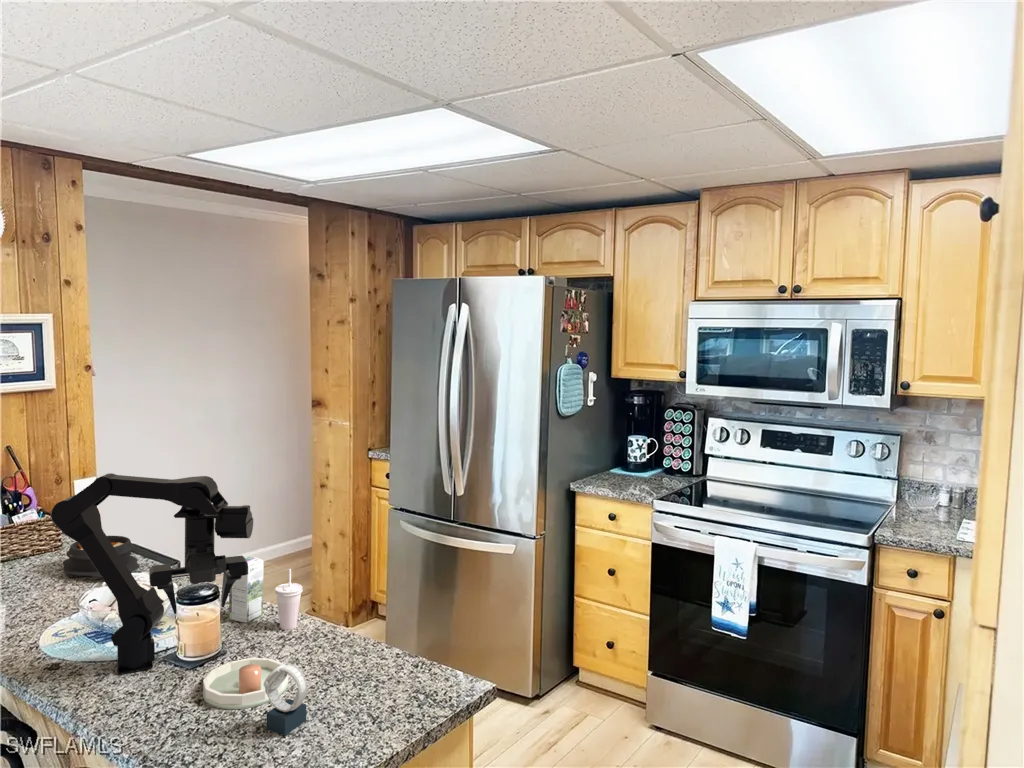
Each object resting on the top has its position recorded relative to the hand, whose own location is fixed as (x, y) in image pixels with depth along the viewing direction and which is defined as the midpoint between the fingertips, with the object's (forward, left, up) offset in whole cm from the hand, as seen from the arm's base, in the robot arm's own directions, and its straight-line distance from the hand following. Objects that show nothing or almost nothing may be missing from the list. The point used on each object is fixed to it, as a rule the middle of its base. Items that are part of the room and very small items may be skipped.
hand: (199, 610), depth 150 cm
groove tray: (+7, -15, -12) cm, 20 cm away
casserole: (-18, +74, -12) cm, 77 cm away
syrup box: (+13, +21, -12) cm, 28 cm away
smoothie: (+21, +11, -12) cm, 27 cm away
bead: (+7, -19, -11) cm, 23 cm away
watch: (+11, -32, -12) cm, 36 cm away
